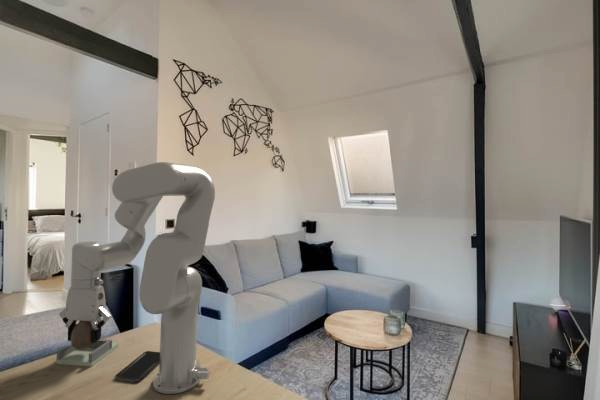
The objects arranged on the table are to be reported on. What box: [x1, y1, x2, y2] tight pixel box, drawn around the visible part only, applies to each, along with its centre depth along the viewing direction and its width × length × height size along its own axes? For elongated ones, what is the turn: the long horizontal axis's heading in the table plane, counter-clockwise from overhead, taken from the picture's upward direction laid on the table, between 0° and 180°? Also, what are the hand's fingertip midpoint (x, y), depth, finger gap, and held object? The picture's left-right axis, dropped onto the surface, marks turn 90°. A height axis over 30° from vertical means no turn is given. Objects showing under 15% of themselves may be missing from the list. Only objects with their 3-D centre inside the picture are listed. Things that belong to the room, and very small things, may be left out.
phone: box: [114, 350, 160, 384], centre depth 94 cm, size 8×1×15 cm
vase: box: [70, 321, 94, 350], centre depth 97 cm, size 7×7×9 cm
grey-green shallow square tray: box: [56, 337, 119, 368], centre depth 99 cm, size 11×12×4 cm
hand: (84, 339), depth 97 cm, fingers closed on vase, 6 cm apart
